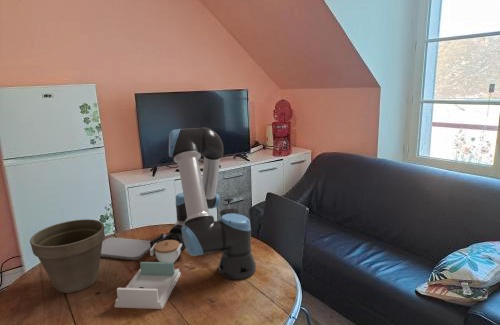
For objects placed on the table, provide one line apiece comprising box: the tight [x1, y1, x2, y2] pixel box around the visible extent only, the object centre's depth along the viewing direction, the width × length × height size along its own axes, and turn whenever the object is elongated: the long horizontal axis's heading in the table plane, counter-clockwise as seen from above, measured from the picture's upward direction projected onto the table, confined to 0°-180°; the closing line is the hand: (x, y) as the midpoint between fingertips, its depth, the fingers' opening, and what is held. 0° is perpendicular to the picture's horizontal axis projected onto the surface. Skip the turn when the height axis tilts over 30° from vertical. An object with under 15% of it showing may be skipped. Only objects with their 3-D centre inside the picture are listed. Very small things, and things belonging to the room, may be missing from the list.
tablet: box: [100, 237, 152, 261], centre depth 159 cm, size 16×26×2 cm, turn 76°
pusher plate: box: [139, 261, 175, 275], centre depth 134 cm, size 1×13×5 cm, turn 85°
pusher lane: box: [114, 268, 182, 310], centre depth 126 cm, size 22×17×7 cm
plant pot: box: [29, 218, 106, 294], centre depth 131 cm, size 25×25×22 cm
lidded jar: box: [154, 240, 180, 263], centre depth 146 cm, size 11×11×9 cm
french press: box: [219, 198, 240, 217], centre depth 159 cm, size 12×9×23 cm
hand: (164, 253), depth 142 cm, fingers closed on lidded jar, 11 cm apart
